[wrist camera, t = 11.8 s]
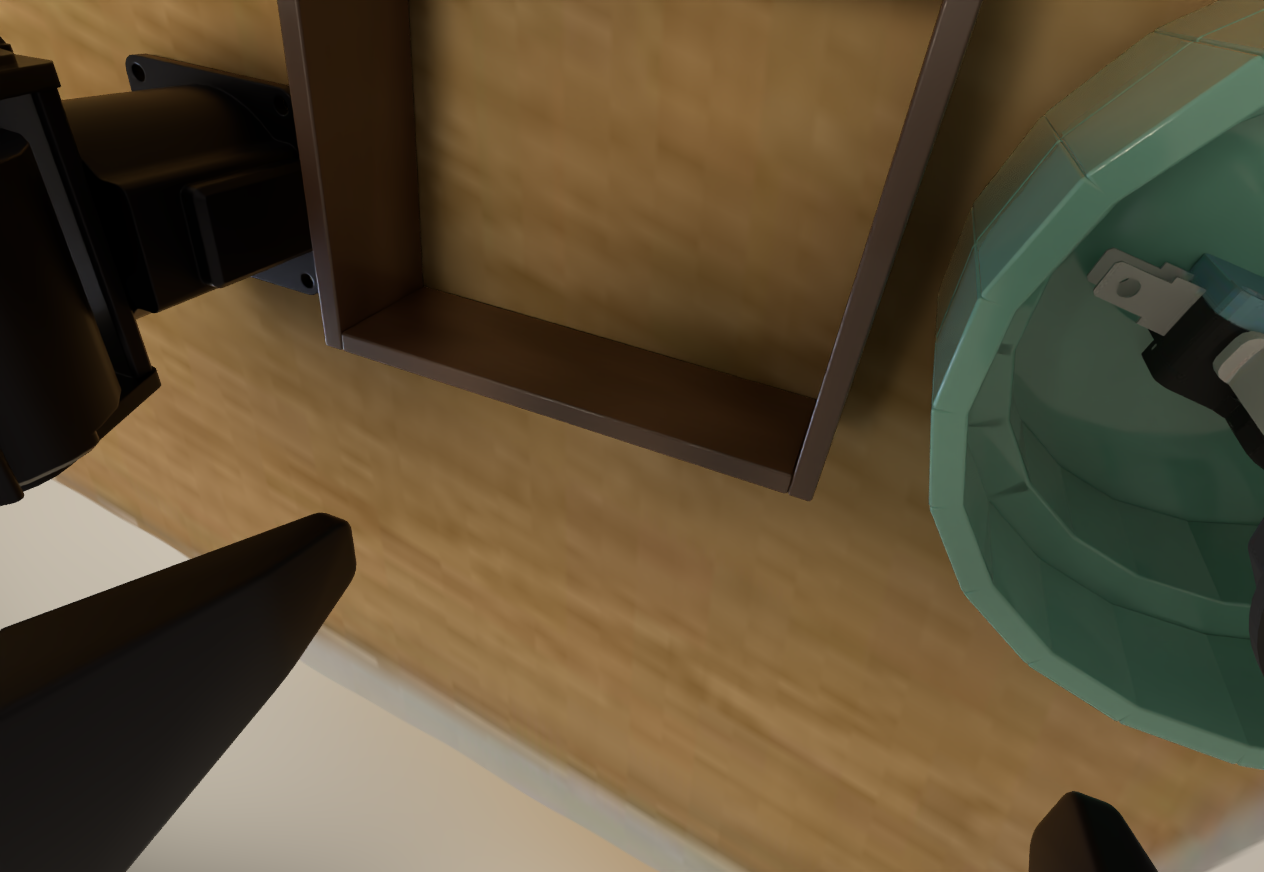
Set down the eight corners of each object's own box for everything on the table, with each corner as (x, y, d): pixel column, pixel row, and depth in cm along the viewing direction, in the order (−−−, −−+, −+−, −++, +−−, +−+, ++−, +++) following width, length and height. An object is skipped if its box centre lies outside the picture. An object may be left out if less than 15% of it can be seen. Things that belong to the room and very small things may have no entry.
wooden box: (409, 297, 24) (325, 345, 20) (381, -129, 17) (253, -156, 14) (833, 423, 20) (810, 503, 17) (992, -49, 14) (1003, -60, 11)
